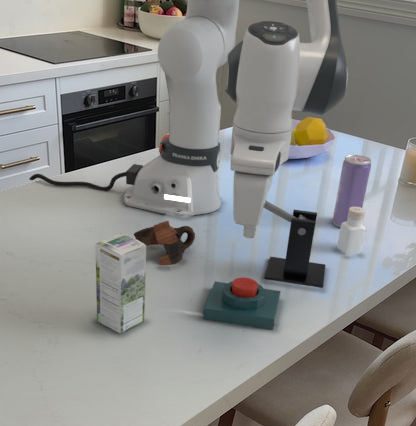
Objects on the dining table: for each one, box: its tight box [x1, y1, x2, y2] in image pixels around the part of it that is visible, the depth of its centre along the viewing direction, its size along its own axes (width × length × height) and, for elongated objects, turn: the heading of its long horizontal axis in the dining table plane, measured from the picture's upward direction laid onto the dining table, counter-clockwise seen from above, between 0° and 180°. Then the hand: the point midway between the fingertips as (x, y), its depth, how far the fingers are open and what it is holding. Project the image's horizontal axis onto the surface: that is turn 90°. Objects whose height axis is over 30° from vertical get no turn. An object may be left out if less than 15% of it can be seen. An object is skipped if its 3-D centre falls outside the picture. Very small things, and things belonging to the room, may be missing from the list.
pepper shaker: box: [336, 207, 367, 255], centre depth 137 cm, size 4×4×10 cm
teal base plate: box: [202, 280, 281, 331], centre depth 116 cm, size 12×10×4 cm
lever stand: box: [264, 209, 326, 289], centre depth 126 cm, size 11×9×12 cm
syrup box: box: [95, 233, 147, 334], centre depth 107 cm, size 6×6×14 cm
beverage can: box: [332, 154, 372, 229], centre depth 147 cm, size 6×6×15 cm
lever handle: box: [263, 200, 310, 223], centre depth 123 cm, size 13×3×3 cm, turn 79°
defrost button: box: [231, 276, 259, 298], centre depth 115 cm, size 4×4×2 cm
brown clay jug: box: [133, 220, 196, 266], centre depth 131 cm, size 12×10×8 cm
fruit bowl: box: [287, 116, 337, 160], centre depth 188 cm, size 28×27×11 cm
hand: (251, 230), depth 109 cm, fingers open, 4 cm apart
